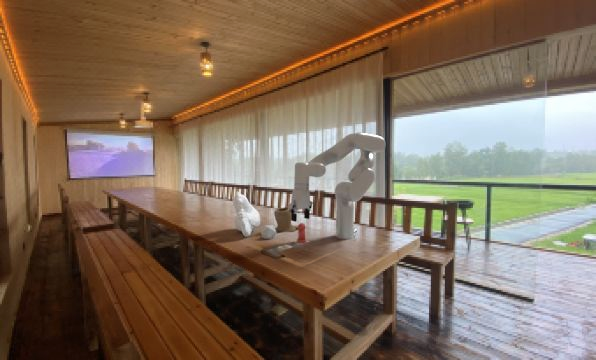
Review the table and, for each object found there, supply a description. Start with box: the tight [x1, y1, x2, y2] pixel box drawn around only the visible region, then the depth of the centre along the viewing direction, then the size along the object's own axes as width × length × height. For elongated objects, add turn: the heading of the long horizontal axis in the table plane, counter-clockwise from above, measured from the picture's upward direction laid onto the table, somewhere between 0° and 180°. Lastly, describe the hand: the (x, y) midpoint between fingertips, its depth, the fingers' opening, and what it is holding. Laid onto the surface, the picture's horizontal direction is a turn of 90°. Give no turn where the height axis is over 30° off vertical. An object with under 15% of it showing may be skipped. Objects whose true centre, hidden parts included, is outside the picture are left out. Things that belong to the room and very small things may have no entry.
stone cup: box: [273, 206, 298, 233], centre depth 160 cm, size 15×12×15 cm
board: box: [260, 240, 310, 259], centre depth 132 cm, size 26×12×1 cm, turn 136°
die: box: [260, 224, 278, 240], centre depth 145 cm, size 8×9×10 cm
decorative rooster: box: [232, 191, 261, 238], centre depth 156 cm, size 25×16×25 cm
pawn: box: [296, 222, 307, 244], centre depth 138 cm, size 5×5×10 cm
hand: (300, 219), depth 137 cm, fingers open, 9 cm apart
